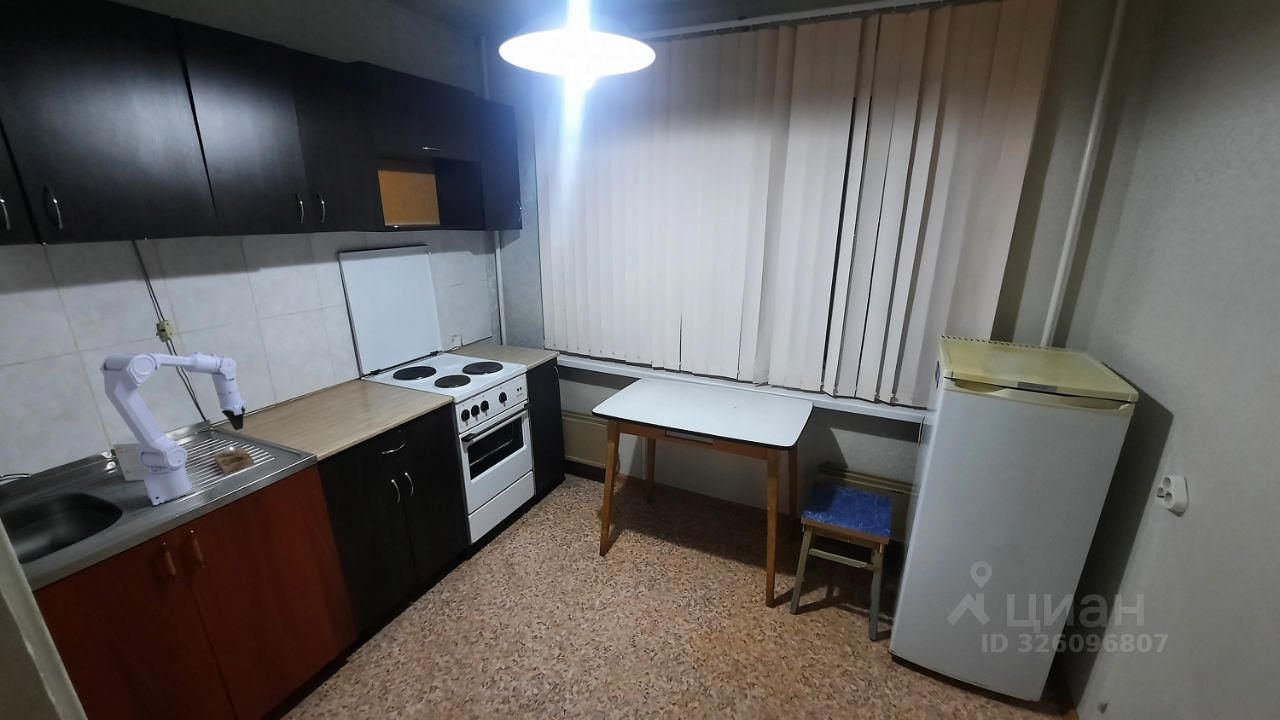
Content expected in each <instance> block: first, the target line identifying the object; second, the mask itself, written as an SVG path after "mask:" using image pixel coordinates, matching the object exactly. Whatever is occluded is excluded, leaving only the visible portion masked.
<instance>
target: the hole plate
mask: <svg viewBox="0 0 1280 720" xmlns="http://www.w3.org/2000/svg"><path fill="white" fill-rule="evenodd" d="M235 449H236V451H235V453H234V454H232V455H226V454H224V452H222V453H219V454H215V455H213V459H214V462H215V464H216V466H217V467H218V468H219V470H220V471H221V472H222V473H223V475H224V476H227V475H230V474H232V473H231V472H234V471H237V472H239V471H238V470H240V471H242V470H241V469H243V470H245V469H244V468H246V467H248V466H251V465H254V464H255V461H254V458H253V457H252V456H251V455H250V454H249V453H248V451H247V450H246V449H244V447H242V446H241V447H239V448H235ZM246 469H247V468H246ZM229 473H230V474H229ZM234 473H235V472H234ZM226 474H227V475H226Z"/></svg>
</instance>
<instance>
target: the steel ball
mask: <svg viewBox="0 0 1280 720" xmlns="http://www.w3.org/2000/svg"><path fill="white" fill-rule="evenodd" d="M236 449H237V448H236V447H235V446H234V445H227V446H225V447H223V450H222V451H223V452H222V453H224V454H226V455H232V454H234V453H235V451H236Z"/></svg>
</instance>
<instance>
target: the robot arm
mask: <svg viewBox="0 0 1280 720" xmlns="http://www.w3.org/2000/svg"><path fill="white" fill-rule="evenodd" d="M160 367H176V368H177V367H178V368H183V370H185V371H186V372H188V373H196V374H198V373H199V374H200V373H201V374H209V375H211V377H212V382H213V385H214V389H215V391H216V395H217V398H218V402H219V404H220V405H219V408H220V409H221V413H222V414H223V415H224V416H225V417H226V418H227V419H228V421H229V423H230V424H231V426H232V427H233V429H234V430H235V431H238V430H242V429H244V417H245V416H244V415H245V413H246V408H245V407H244V406H243V405H244V404H247V403H248V400H246V399H242V395H241V392H240V389H239V385H238V382H237V378H236V377H237V372H236V370H237V367H238V363H237V362H235V360H234V359H233V358H232V357H231V356H217V354H215V353H214V354H213V353H212V354H210V355H209V354H202V352H199V351H194V352H193V353H191V352H190V353H188V354H186V355H185V356H179V355H174V354H173V355H172V354H165V353H154V352H152V353H151V352H139V353H138V352H137V353H136V352H135V353H133V352H130V353H126V354H125V353H117V352H115V353H112V354H111V353H110V354H109V355H107V356H106V357H105V358H104V360H103V361H102V363H101V365H100V367H99V370H100V372H101V374H102V375H103V379H104V381H103V383H104V393H105V395H106V396H107V398H108V400H109V401H110V402H111V403H112V405H113V406H114V408H115V409H116V411H117V412H118V414H119V415H120V417H121V419H122V420H123V421H124V422H125V425H127V426H128V428H129V430H130V431H131V433H132V434H133V436H135V437H136V438H137V440H138V441H139V443H140V446H139V447H138V448H137V451H138V453H139V459H140V462H141V464H142V465H144V466H147V467H148V468H149V470H150V471H151V472H149V473H147V474H144V475H142V477H143V480H142V481H143V482H144V484H145V487H146V489H147V492H146V495H147V498H148V499H150V501H151V503H152V506H153V505H157V504H159V502H161V503H162V502H164V500H166V499H169V498H172V497H176V496H178V495H181V494H183V493H186V492H187V491H189V490H191V488H192V487H194V485H193V483H192V482H191V481H190V478H189V475H188V472H187V469H186V462H187V460H188V451H187V450H186V449H185V448H184V447H182V446H180V445H179V444H178V443H177V441H175V440H174V439H172V438H170V437H168V436H167V435H166V434H165V432H164V431H163V429H162V428H161V427H160V425H159V424H158V422H157V420H156V419H155V418H154V416H153V414H152V412H151V411H150V410H149V408H148V406H147V405H146V404H145V403H144V401H143V399H142V398H141V396H140V394H139V393H138V392H137V391H138V389H139V388H140V387H141V386H142V385H143V383H145V382H146V381H147V379H148V378H150V377H151V375H152V374H153V373H154V371H157V370H158V371H159V369H160ZM157 506H158V505H157Z"/></svg>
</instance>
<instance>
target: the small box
mask: <svg viewBox="0 0 1280 720" xmlns="http://www.w3.org/2000/svg"><path fill="white" fill-rule="evenodd" d="M111 446H112V447H113V449H114V452H115V455H116V458H117V461H118V462H119V465H120V466H119V467H120V468H121V471H122V473H123V476H124V479H125V481H126V482H130V481H144V480H143V477H142V475H144V474H147V473H149V472H151V471H150V470H149V468H148V467H147V466H144V465H142V464H141V462H140V459H139V453H138V451H137V448H138V447H139V446H140V443H139V441H138V440H137V438H136V437H135V435H129V436H126V437H125V438H122V439H120V440H119V441H116V442H114V443H113V444H112V445H111Z"/></svg>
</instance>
